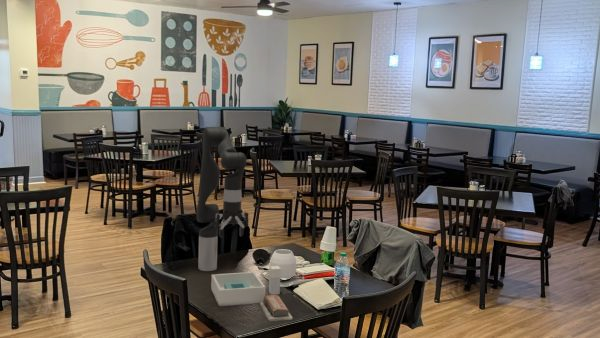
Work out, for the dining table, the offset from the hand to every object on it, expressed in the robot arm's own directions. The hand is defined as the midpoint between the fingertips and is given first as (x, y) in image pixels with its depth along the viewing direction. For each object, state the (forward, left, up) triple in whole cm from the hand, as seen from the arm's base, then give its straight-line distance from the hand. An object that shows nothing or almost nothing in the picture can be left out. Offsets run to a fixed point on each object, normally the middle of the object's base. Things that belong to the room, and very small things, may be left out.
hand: (231, 236), depth 234 cm
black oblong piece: (-50, +29, -29) cm, 65 cm away
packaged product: (+15, +16, -29) cm, 37 cm away
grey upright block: (-5, +22, -29) cm, 36 cm away
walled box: (-5, +5, -29) cm, 30 cm away
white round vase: (-24, +31, -29) cm, 49 cm away
